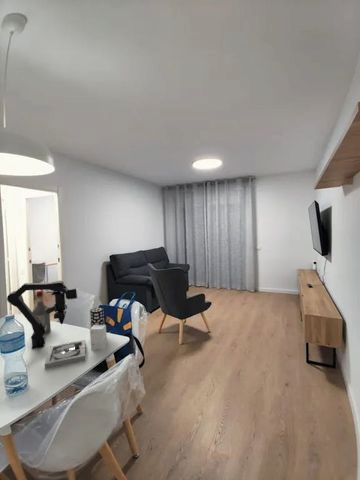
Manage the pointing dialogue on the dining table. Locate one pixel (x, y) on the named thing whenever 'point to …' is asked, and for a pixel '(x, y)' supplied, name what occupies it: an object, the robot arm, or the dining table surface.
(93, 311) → the spotted tube
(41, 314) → the liquor
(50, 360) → the grey square tray
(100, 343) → the small box
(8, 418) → the dining table surface
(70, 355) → the dial
